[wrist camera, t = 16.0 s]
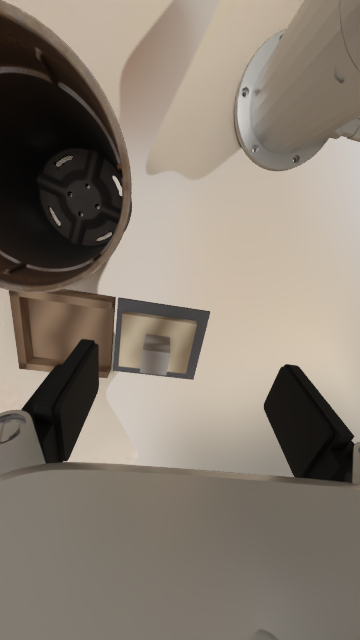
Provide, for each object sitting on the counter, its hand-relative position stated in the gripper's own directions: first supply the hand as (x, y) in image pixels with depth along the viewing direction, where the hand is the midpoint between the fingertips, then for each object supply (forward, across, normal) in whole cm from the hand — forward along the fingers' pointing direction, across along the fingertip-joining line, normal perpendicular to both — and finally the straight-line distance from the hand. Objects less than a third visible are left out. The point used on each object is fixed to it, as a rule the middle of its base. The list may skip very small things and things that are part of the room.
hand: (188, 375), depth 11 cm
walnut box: (+24, +16, +13) cm, 31 cm away
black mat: (+24, +2, +13) cm, 27 cm away
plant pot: (+25, +14, -7) cm, 29 cm away
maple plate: (+24, +2, +13) cm, 27 cm away
